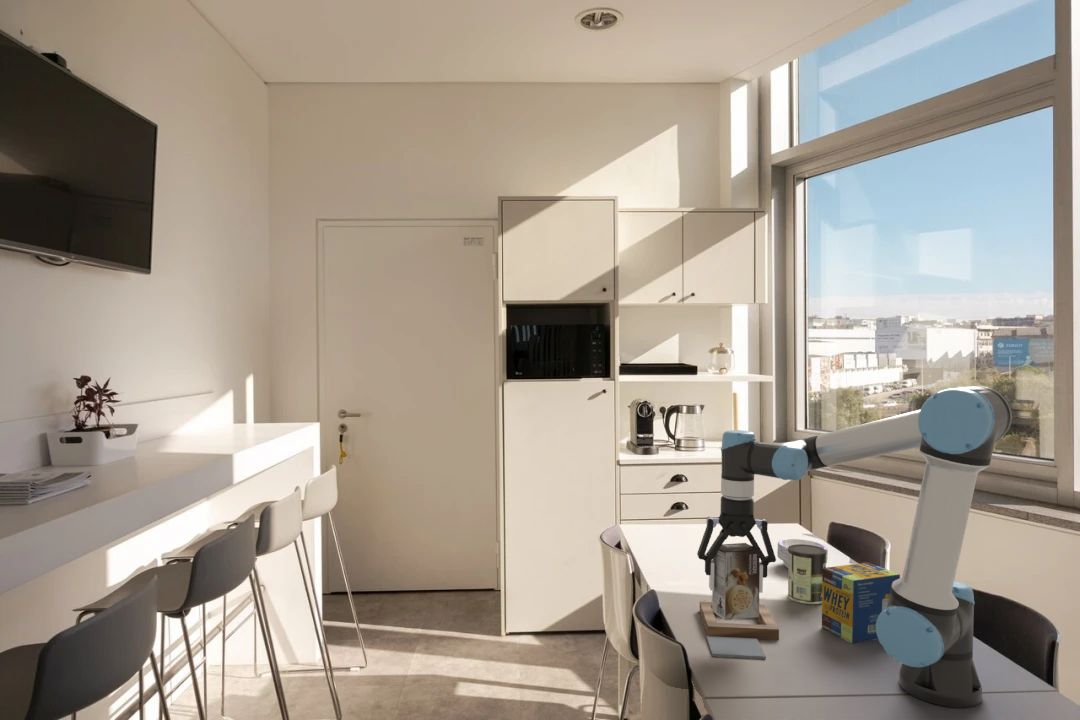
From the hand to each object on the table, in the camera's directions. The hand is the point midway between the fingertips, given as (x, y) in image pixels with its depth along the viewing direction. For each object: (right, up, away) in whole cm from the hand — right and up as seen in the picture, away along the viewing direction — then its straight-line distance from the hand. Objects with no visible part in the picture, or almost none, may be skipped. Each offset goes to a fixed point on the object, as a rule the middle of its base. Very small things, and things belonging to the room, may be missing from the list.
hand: (735, 589), depth 169 cm
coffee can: (+30, -14, +34) cm, 47 cm away
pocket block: (+5, -14, +15) cm, 21 cm away
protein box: (+34, -14, +11) cm, 39 cm away
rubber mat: (0, -14, 0) cm, 14 cm away
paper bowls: (+38, -13, +62) cm, 74 cm away
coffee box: (0, -6, 0) cm, 6 cm away
